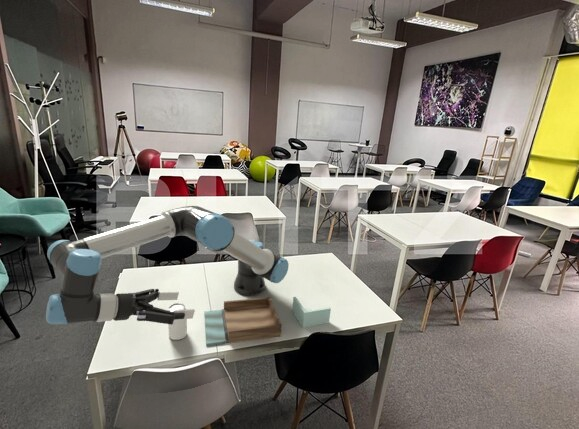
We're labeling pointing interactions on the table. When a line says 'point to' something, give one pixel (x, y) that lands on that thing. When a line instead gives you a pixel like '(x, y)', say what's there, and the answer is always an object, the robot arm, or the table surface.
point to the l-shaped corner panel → (310, 314)
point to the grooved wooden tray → (242, 321)
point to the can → (177, 324)
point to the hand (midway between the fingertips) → (185, 304)
